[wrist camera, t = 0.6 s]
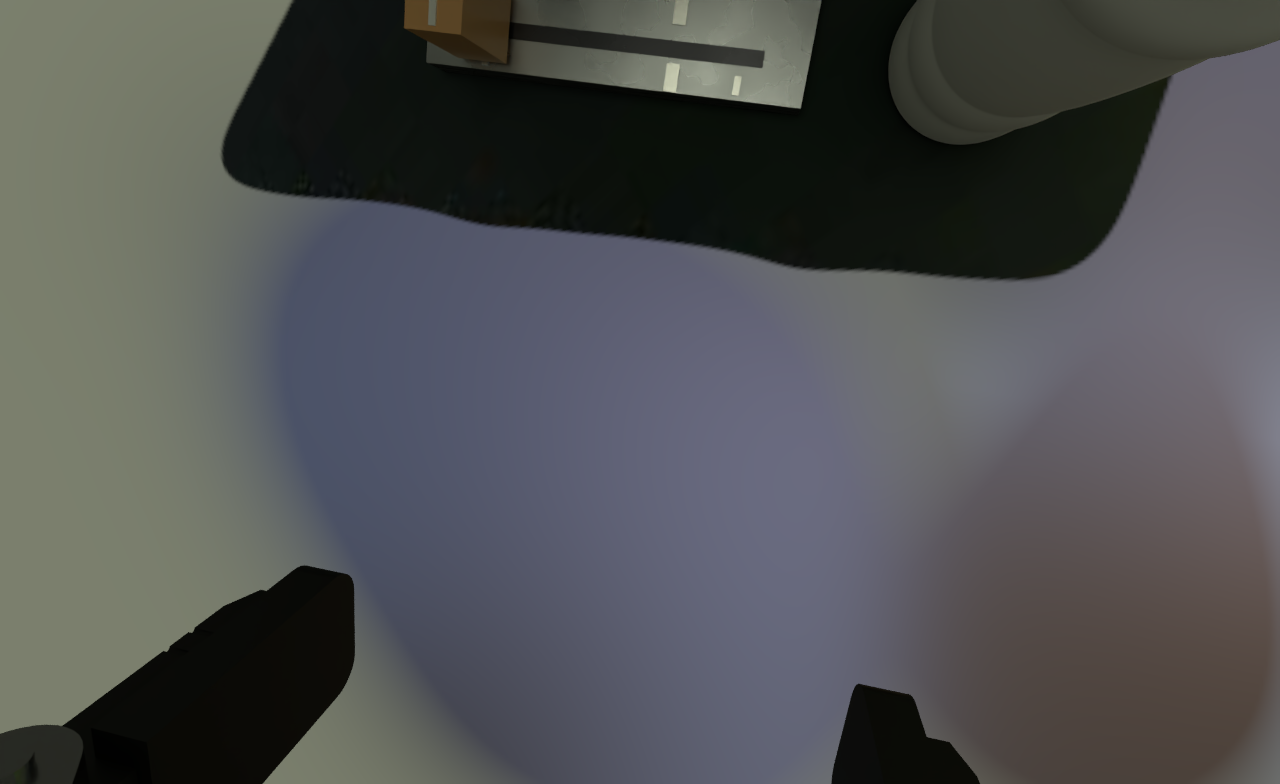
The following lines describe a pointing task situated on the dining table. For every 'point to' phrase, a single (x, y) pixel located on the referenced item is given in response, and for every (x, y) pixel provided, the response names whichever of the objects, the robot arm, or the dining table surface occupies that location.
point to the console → (660, 49)
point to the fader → (462, 26)
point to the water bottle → (1052, 56)
